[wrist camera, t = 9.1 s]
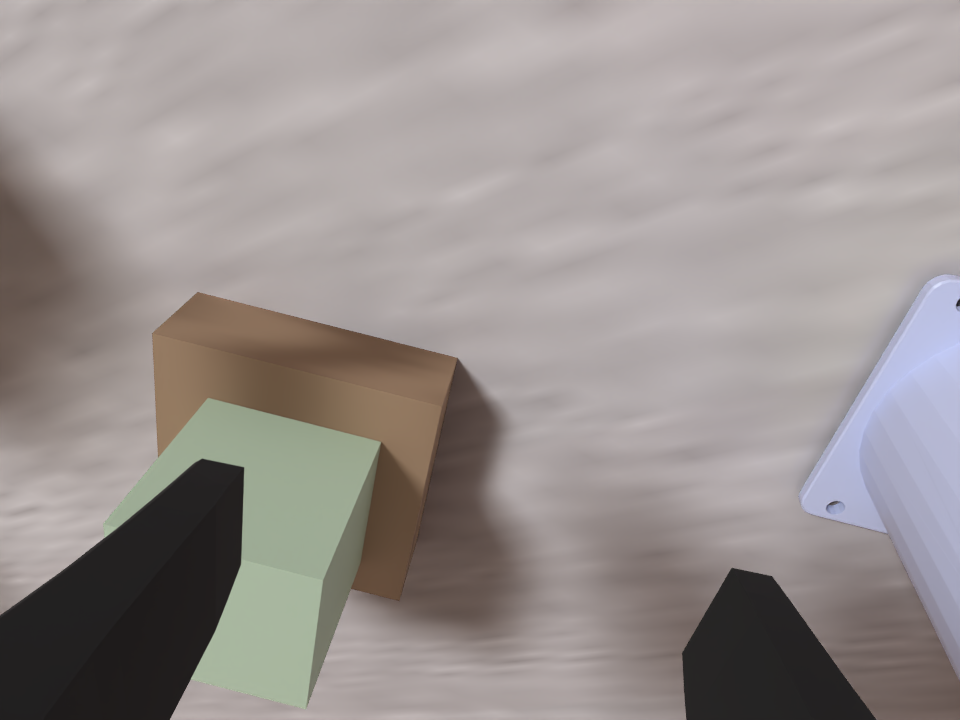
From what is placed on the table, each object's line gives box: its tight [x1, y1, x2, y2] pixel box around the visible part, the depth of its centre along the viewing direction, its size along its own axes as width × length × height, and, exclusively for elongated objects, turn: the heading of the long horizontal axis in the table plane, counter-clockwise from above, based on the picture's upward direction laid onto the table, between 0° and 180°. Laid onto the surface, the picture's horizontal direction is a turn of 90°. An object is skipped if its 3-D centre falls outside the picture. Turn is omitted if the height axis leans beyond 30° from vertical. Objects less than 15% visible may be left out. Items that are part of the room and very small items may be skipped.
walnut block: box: [152, 292, 458, 601], centre depth 22 cm, size 8×8×3 cm
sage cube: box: [103, 398, 381, 709], centre depth 19 cm, size 5×5×5 cm
